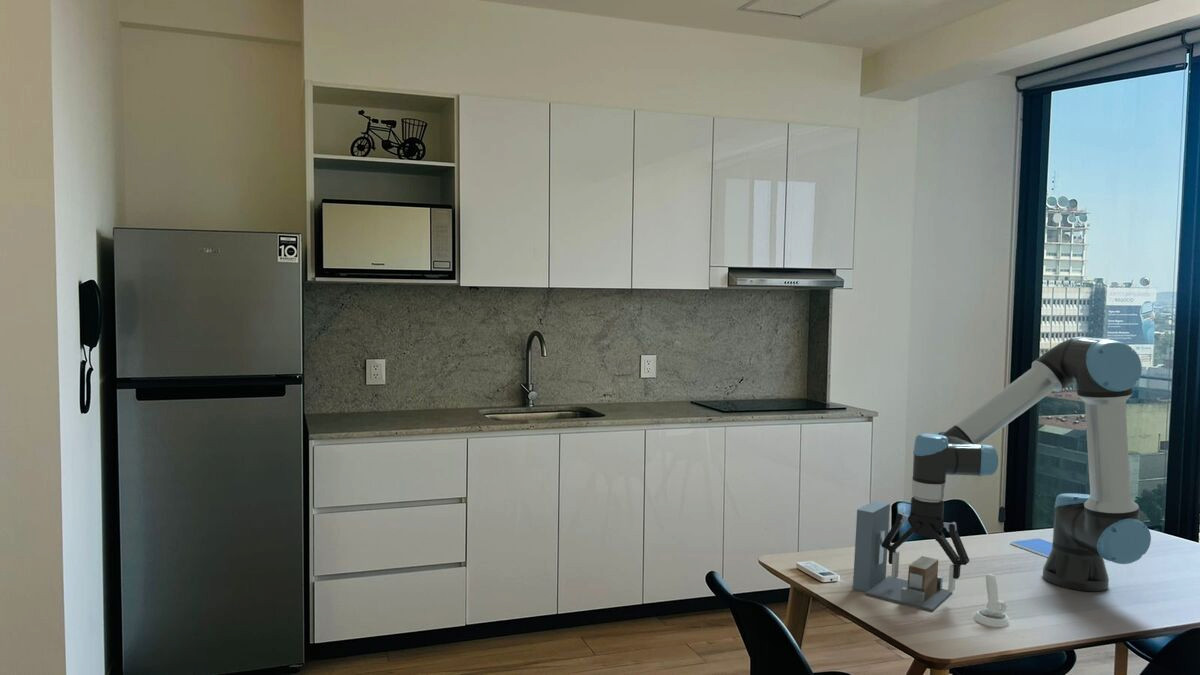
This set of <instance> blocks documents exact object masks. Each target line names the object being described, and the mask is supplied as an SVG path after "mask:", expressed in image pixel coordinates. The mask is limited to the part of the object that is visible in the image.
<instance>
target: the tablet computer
mask: <svg viewBox="0 0 1200 675" xmlns="http://www.w3.org/2000/svg"><path fill="white" fill-rule="evenodd" d="M1009 544H1010V545H1011V546H1014V547H1016V548H1020V549H1022V550H1025V551H1027V552H1030V553H1034V554H1037V555H1040V556H1041V557H1044V558H1047V559H1048V556H1049V554H1050V552H1051V550H1052V544H1053V542H1052V541H1051V542H1050V541H1048V540H1045V539H1041V538H1031V539H1024V540H1023V539H1022V540H1016V541H1011V542H1009Z"/></svg>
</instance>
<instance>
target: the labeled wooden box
mask: <svg viewBox="0 0 1200 675" xmlns="http://www.w3.org/2000/svg"><path fill="white" fill-rule="evenodd" d="M938 572H939V559H938V558H934V557H933V558H932V557H929V556H924V555H921V556H920V557H919V558H917V559H916V560H915V561H913V562H911V563H910V564H909V565H908V572H907V581H908V588H909V589H913V590H917V591H921V592H925V594H924V602H925V601H926V600H927V599H928V598H929V597H931V596H932V595H933V594H934V593H935V592H936V591H937V576H939V575H938V574H939V573H938Z"/></svg>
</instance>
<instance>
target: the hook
mask: <svg viewBox="0 0 1200 675" xmlns="http://www.w3.org/2000/svg"><path fill="white" fill-rule="evenodd" d="M985 584H986V592H987V600H988V601H987V604H986V608H980V609H977V611H976V612H975V614H974V615H973V617H972V618H973V620H974V621H976V622H977V623H978V624H981V625H984V626H989V627H994V628H1007V627H1009V626H1010V625H1011V622H1010V619H1009V616H1008V615H1007V614H1006V613H1005V611H1006V609H1007V605H1006V603H1005V601H1003V600H1000V598H999V597H1000V596H999V591H998V590H999V589H998V582H997V576H996V575H995V574H991V573H987V574H986V575H985ZM988 616H993V617H997V618H993V617H988Z"/></svg>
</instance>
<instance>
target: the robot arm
mask: <svg viewBox="0 0 1200 675" xmlns="http://www.w3.org/2000/svg"><path fill="white" fill-rule="evenodd" d="M1142 367H1143V366H1142V362H1141V358H1140V357H1139V354H1138V352H1136V350H1135V349H1134V348H1132V347H1131V346H1130V345H1128V344H1126V343H1125V342H1122V341H1119V340H1116V339H1112V338H1099V337H1091V336H1076V337H1071V338H1069V339H1066V340H1064V341H1062V342H1060V343H1058V344H1056V345H1055V346H1053V347H1051V348H1050V349H1049V350H1047V351H1046V352H1045V353H1043V354H1042V355H1040V356H1039V357H1037V358H1036V359H1035V360H1034V361H1032V363H1031V368H1030V369H1028V370H1027V371H1025V372H1024V373H1022V375H1021V376H1019V377H1017V379H1015V380H1013V381H1012V382H1011V383H1010V384H1008V385H1007V386H1006V387H1004V388H1003V389H1002V390H1000V391H999V392H998V393H996V394H995V395H994V396H992V397H991V398H989V399H988V400H987V401H986V402H984V403H983V404H981V405H980V406H978V407H977V408H976V409H974V410H973V411H972V412H971V413H970V414H968V415H967V416H964V418H962V420H960V421H958V422H957V423H956V424H955V425H953V426H951V427H950V428H948V430H946V431H937V432H934V433H927V432H926V433H919V434H918V435H917V436H915V440H914V444H913V446H914V447H913V458H912V459H913V465H912V481H911V482H912V483H911V491H910V492H911V496H912V497H911V499H910V514H909V515H908V514H905V512H904V511H901V512H899V513H897V514H896V517H895V521H894V523H893V525H892V527H891V529H890V530H889V531H888V535H887V536H886V538H885V540H884V541H883V543H882V547H883V548H886V549H887V552H888V558H887V562H888V564H889V565H891V575H890V577H891V579H895V578H898V577H899V567H900V566H899V565H900V564H899V563H900V550H897V549H898V548H899V547H900V546H901V545H903V543H905V542H906V541H907V540H908V539H909V538H910V537H912V536H913V535H914V534H916V535H917V536H919V537H926V538H929V539H932V538H933V539H934V540H935V541H936V542H937V543H938V544H939V546H940V547H941V548H942V550H943V552H944V553H945V555H947V557H948V559H949V560H950V561H951V564H949V573H948V587H947V590H948V592H950V593H952V594H953V592H954V591H955V589H956V580H958V579H960V577H961V568H962V566H966V565H967V564H968V563H970V558H969V556H968V553H967V551H966V549H965V546H964V543H963V542H962V539H961V537H960V533H959V532H958V524H957V522H955V521H952V522H945V520H944V510H945V501H944V499H945V494H946V483H947V482H946V481H947V480H946V479H947V475H948V476H949V475H950V476H953V475H954V476H975V477H976V476H978V477H982V476H983V477H985V476H986V477H987V476H992V475H994V474H995V473H996V472H997V470H998V468H999V454H998V451H997V449H996V447H995V446H993V445H991V444H984V442H985V441H987V440H989V439H990V438H991V437H992V436H994V435H995V434H996V433H998V432H999V431H1000V430H1003V428H1004V427H1006V426H1007V425H1008V424H1010V423H1011V422H1013V421H1014V420H1015V419H1016V418H1018V417H1019V416H1021V415H1023V414H1024V413H1025V412H1026V411H1028V410H1029V409H1030V408H1032V407H1033V406H1034V405H1036V404H1037V403H1038V402H1040V401H1041V400H1043V399H1044V398H1046V397H1047V396H1048V395H1049V394H1051V393H1052V392H1056V393H1057V392H1060V391H1062V390H1063V389H1065V388H1066V387H1068V386H1071V385H1074V384H1076V395H1077V397H1078V398H1080V399H1081V400H1082V401H1083V402H1084V411H1085V413H1084V414H1085V428H1086V446H1087V461H1088V463H1087V464H1088V478H1089V494H1087V493H1086V494H1085V493H1075V492H1074V493H1069V492H1068V493H1060V494H1058V495H1057V496H1056V498H1055V503H1054V506H1053V509H1054V515H1053V528H1052V529H1053V534H1052V543H1053V544H1052V550H1051V552H1050V554H1049V556H1048V558H1047V559H1046V561H1045V563H1044V566H1043V569H1042V578H1043V579H1044V580H1045V581H1047V582H1049V583H1051V584H1053V585H1056V586H1060V587H1062V588H1065V589H1071V590H1076V591H1082V592H1083V591H1084V592H1102V591H1106V590H1107V589H1109V581H1110V578H1109V574H1108V571H1107V568H1106V563H1105V560H1106V561H1108V562H1112V563H1115V564H1117V565H1128V564H1132V563H1135V562H1137V561H1139V560H1140V559H1142V557H1143V556H1144V555H1145V554H1146V553H1147V552H1148V550H1149V548H1150V546H1151V542H1152V535H1151V531H1150V529H1149V528H1148V526H1147V525H1146V524H1145V523H1144V522H1143V521H1141V520H1140V506H1139V504H1138V503H1137V502H1135V501H1134V500H1133V499H1132V496H1131V495H1132V493H1131V477H1130V473H1131V472H1130V460H1129V442H1128V437H1129V436H1128V424H1127V423H1128V421H1127V405H1126V402H1127V400H1128V399H1130V398H1131V397H1132V396H1133V387H1134V386H1135V385H1136V384H1137V381H1138V380H1140V378H1141V375H1142V370H1143V369H1142ZM906 522H908V523H909V525H910V528H909V529H908V530H907V531H906V532H904V534H903V535H901V536H900V537H899V538H898V539H897V540H896V541H895V542H894V543H892V541H893V539H894V538H895V536H896V535H897V533H898V532H899V530H900V528H901V527H902V525H903V524H905V523H906ZM944 528H945V530H946V531H947V532H948V533H949V536H950V539H951V541H952V544H953V546H954V548H955V550H954V548H953V547H952V546H951V544H950V543H949V541H948V539H947V538H946V536H945V534H944V532H943V531H942V530H943V529H944Z"/></svg>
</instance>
